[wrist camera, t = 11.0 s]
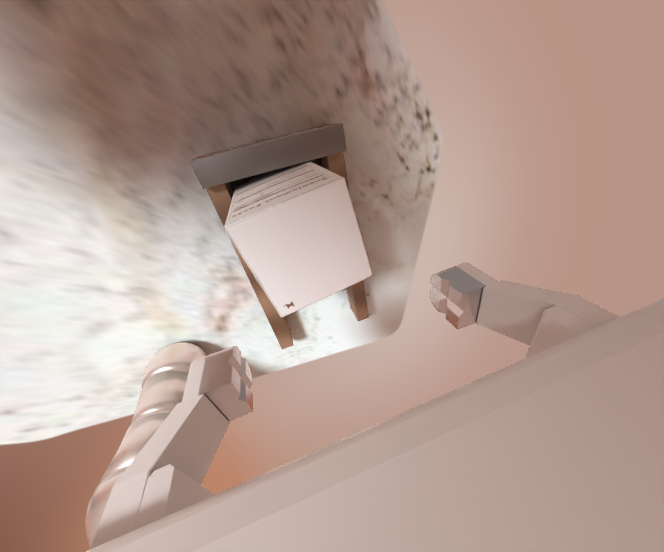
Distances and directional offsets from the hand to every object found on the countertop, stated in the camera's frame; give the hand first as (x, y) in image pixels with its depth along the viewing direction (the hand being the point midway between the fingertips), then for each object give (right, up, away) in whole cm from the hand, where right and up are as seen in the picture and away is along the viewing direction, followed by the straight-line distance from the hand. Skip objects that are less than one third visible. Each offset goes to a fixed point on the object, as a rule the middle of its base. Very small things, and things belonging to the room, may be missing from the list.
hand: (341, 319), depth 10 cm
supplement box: (-5, +9, +16) cm, 19 cm away
